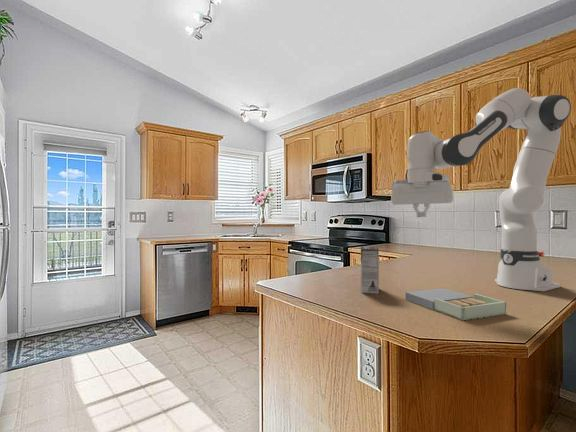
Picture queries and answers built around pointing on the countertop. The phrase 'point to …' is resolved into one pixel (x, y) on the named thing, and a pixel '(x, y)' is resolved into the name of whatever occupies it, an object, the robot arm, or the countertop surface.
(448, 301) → the tile
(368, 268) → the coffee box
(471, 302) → the tile
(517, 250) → the robot arm
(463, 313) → the tray
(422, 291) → the board
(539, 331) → the countertop surface
